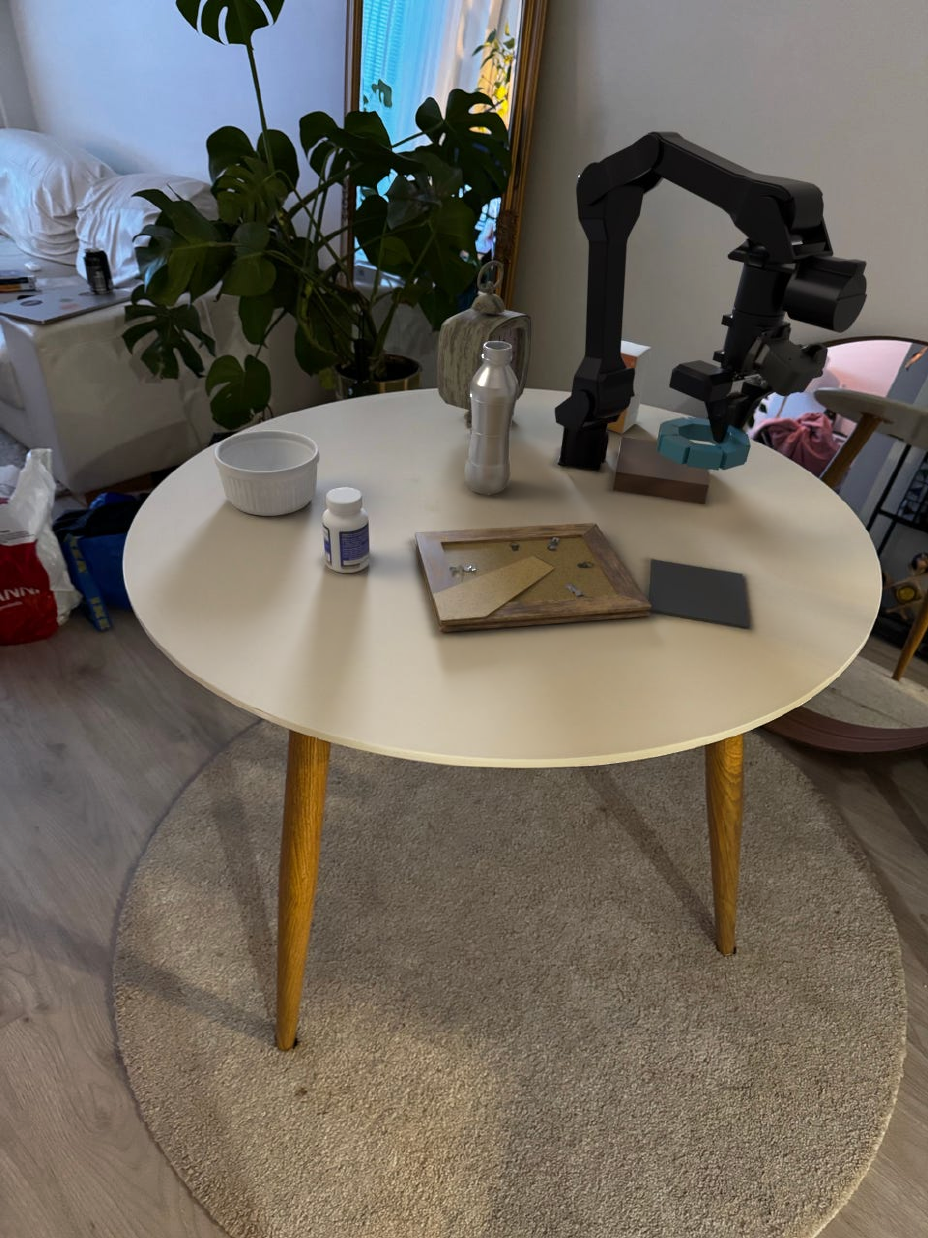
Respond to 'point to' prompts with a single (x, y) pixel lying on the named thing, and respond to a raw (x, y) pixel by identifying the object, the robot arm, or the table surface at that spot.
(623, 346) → the small box
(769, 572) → the table surface
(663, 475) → the platform
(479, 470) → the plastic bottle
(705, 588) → the mat
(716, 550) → the table surface
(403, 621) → the table surface
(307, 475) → the ramekin
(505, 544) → the picture frame
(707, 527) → the table surface
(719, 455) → the ring
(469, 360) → the tabletop clock
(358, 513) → the pill bottle
